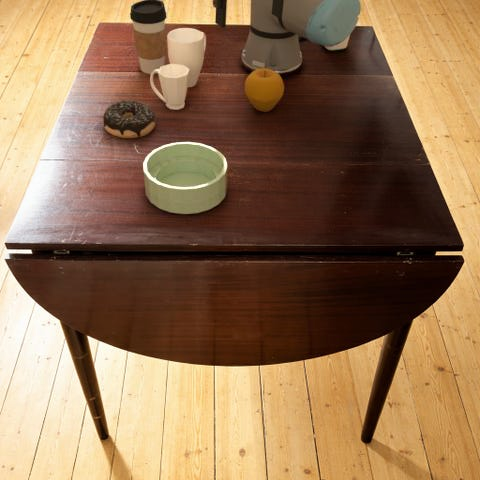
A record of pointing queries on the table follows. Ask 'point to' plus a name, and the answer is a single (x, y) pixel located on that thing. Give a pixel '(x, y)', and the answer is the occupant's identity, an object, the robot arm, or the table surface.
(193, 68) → the mug
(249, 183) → the table surface
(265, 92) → the apple
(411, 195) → the table surface
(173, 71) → the cup
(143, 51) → the coffee cup
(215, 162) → the serving bowl
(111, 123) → the donut
